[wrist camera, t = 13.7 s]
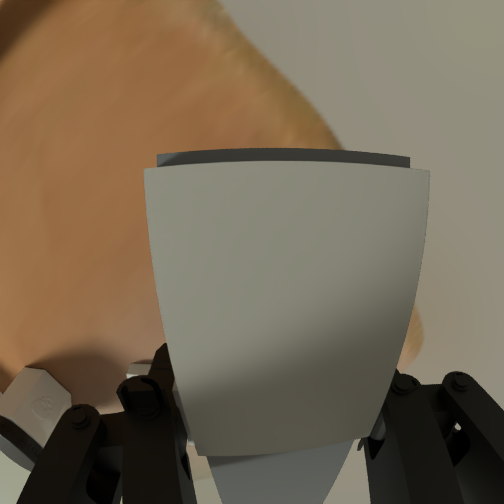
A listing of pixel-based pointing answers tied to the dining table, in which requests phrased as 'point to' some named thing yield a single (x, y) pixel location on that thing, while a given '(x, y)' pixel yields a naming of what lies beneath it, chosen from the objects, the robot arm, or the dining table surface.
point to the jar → (30, 415)
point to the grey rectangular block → (284, 304)
